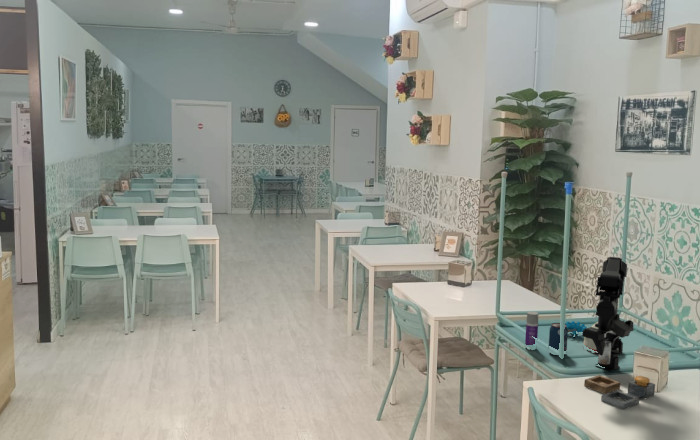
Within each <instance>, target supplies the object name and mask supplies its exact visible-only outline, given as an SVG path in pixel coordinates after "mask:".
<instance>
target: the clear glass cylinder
mask: <svg viewBox="0 0 700 440" xmlns="http://www.w3.org/2000/svg"><path fill="white" fill-rule="evenodd" d="M610 354H611V341H608V340H607V341H605V345H604V351H603V355H602V356H601V355H599V354H598V356H599V357H597V363H598V362H599V363H601V364H610Z"/></svg>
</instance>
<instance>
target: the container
mask: <svg viewBox="0 0 700 440" xmlns="http://www.w3.org/2000/svg"><path fill="white" fill-rule="evenodd" d="M538 334H539V312H537V311H527V312H526V323H525V339H524V341H525V343H524V345H525V344H526V345H533V344H535V339H534V338H533V337H535V338H537V339H538ZM532 336H533V337H532Z"/></svg>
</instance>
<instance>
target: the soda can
mask: <svg viewBox="0 0 700 440" xmlns="http://www.w3.org/2000/svg"><path fill="white" fill-rule="evenodd" d="M560 323H561V322H553V323H551V325H550V326H549V333H548V334H549V337H548V347H549V346H551V347H553V348H555V349H557V350H558V349H559V343H560ZM568 334H569V332H568V329H567V326H566V325H565V329H564V351H566V350H567V349H568V337H569V336H568ZM567 351H568V350H567Z"/></svg>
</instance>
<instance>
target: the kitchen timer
mask: <svg viewBox="0 0 700 440" xmlns="http://www.w3.org/2000/svg"><path fill="white" fill-rule="evenodd" d="M596 323H598V321H597V322H595V323H593V325H591V327H593V328H596V329H598V327H595V324H596ZM583 344H584V345H585V346H586V347H588V348H589V349H592V350H594V351H596V346H595V344H594V342H593V340H592V339H590V338H586V337H583Z"/></svg>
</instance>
